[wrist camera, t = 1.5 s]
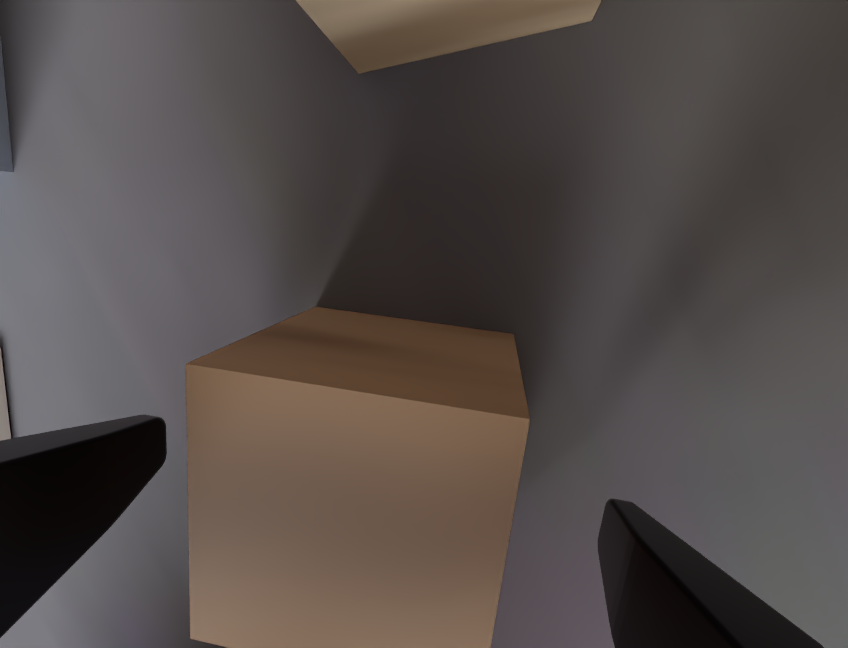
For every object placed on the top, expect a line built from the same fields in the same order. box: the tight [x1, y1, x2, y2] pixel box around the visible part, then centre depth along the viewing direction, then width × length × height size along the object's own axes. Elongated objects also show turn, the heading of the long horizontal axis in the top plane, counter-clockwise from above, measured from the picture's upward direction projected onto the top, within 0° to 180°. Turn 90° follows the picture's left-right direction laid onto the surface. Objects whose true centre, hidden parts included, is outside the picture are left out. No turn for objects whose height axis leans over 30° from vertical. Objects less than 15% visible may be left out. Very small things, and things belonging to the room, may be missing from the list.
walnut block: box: [186, 307, 530, 648], centre depth 9 cm, size 5×5×5 cm
